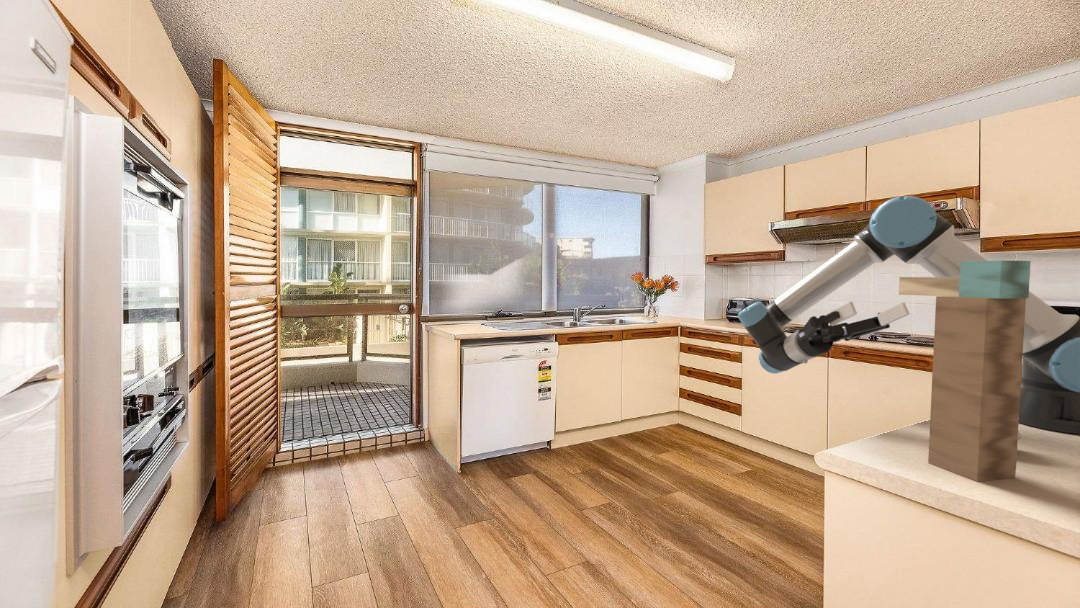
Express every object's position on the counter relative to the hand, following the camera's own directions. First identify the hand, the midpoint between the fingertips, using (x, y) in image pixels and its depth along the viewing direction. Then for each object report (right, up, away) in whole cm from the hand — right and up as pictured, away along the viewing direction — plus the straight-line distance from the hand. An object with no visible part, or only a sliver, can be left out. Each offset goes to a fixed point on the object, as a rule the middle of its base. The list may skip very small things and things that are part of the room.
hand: (880, 308), depth 99 cm
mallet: (+2, +2, -15) cm, 15 cm away
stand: (+3, -28, -17) cm, 33 cm away
